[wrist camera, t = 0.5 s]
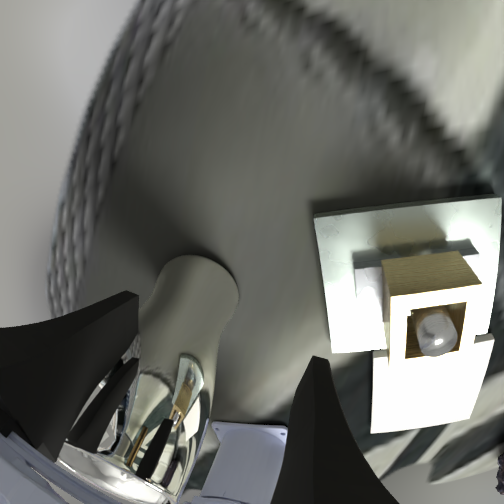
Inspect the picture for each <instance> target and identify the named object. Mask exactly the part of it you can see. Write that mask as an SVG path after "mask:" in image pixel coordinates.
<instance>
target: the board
mask: <svg viewBox="0 0 504 504" xmlns="http://www.w3.org/2000/svg"><path fill="white" fill-rule="evenodd" d="M493 343H494V338H493V336H492V334H491V333H490V334H485V335H480V336H475V337H474V342H473V346H472V351H471V355H470V360H465V361H459V362H454V363H448V364H442V365H436V366H430V367H423V368H416V369H409V370H401V371H392V372H389V365H388V357H387V350H379V351H373V390H372V414H371V433H382V432H391V431H400V430H408V429H415V428H422V427H428V426H434V425H440V424H446V423H451V422H456V421H461V420H465V419H469V418H470V415H471V413H472V410H473V407H474V405H475V402H476V399H477V396H478V394H479V391H480V388H481V385H482V382H483V379H484V375H485V372H486V369H487V365H488V362H489V358H490V355H491V351H492V347H493Z"/></svg>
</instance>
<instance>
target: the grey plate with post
mask: <svg viewBox="0 0 504 504" xmlns="http://www.w3.org/2000/svg"><path fill="white" fill-rule="evenodd" d="M314 224H315V230H316V236H317V242H318V248H319V255H320V261H321V268H322V275H323V282H324V289H325V296H326V304H327V312H328V320H329V328H330V337H331V346H332V353H343V352H355V351H366V350H376V349H386V343H385V336H384V329H383V286H382V265H381V260H386V259H395V258H403V257H411V256H419V255H427V254H435V253H443V252H451V251H459V253H460V254H461V255H462V256H463V258H464V259H465V260H466V262H467V263H468V264H469V266H470V267H471V268H472V270H473V271H474V272H475V274H476V275H477V277H478V278H479V279H480V281H481V282H482V284H483V288H482V295H481V303H480V309H479V315H478V321H477V327H476V332H475V335H479V334H484V333H487V331H488V326H489V321H490V316H491V310H492V305H493V299H494V292H495V285H496V277H497V269H498V259H499V248H500V233H501V197H500V196H498V195H496V194H484V195H473V196H462V197H452V198H442V199H432V200H423V201H413V202H404V203H395V204H387V205H378V206H370V207H361V208H353V209H345V210H337V211H330V212H322V213H315V214H314ZM407 315H411V317H412V320H413V324H414V327H415V331H416V334H417V338H418V342H419V346H420V349H421V352H422V353H423V354H424V355H426V356H428V357H440V356H442V355H445V354H446V353H448V352H449V351H450V350H451V349H452V348H453V347H454V346H455V344H456V342H457V337H458V336H457V332H456V329H455V327H454V325H453V323H452V320H451V318H450V316H449V314H448V311H447V309H446V307H445V305H437V306H430V307H423V308H415V309H407Z"/></svg>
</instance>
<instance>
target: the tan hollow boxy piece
mask: <svg viewBox="0 0 504 504" xmlns="http://www.w3.org/2000/svg"><path fill="white" fill-rule="evenodd" d="M381 265H382V286H383V329H384V336H385V343H386V350H387V357H388V365H389V372H392V371H401V370H409V369H416V368H423V367H430V366H436V365H442V364H448V363H454V362H459V361H465V360H470V355H471V351H472V346H473V342H474V337H475V332H476V327H477V321H478V315H479V309H480V303H481V295H482V288H483V284H482V282H481V281H480V279H479V278H478V277H477V275H476V274H475V272H474V271H473V270H472V268H471V267H470V266H469V264H468V263H467V262H466V260H465V259H464V258H463V256H462V255H461V254H460V253H459V251H451V252H443V253H435V254H427V255H419V256H411V257H403V258H395V259H386V260H381ZM437 305H445V307H446V309H447V311H448V314H449V316H450V318H451V320H452V323H453V325H454V327H455V329H456V332H457V336H458V337H457V342H456V344H455V346H454V347H453V348H452V349H451V350H450V351H449V352H448V353H446V354H445V355H442V356H440V357H428V356H426V355H424V354H423V353H422V352H421V349H420V346H419V342H418V338H417V334H416V331H415V327H414V324H413V320H412V317H411V315H407V309H415V308H423V307H430V306H437Z"/></svg>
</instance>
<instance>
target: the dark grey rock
mask: <svg viewBox="0 0 504 504" xmlns="http://www.w3.org/2000/svg"><path fill="white" fill-rule="evenodd" d="M498 465H499V470H498V472H497V477H496V478H497V479H498V485H497V487H496V489H497V491H498V492H500V494H502V495H504V453H503V454H502V455H500V456H499V457H498Z"/></svg>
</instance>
